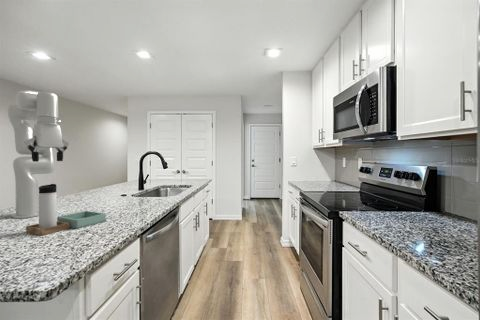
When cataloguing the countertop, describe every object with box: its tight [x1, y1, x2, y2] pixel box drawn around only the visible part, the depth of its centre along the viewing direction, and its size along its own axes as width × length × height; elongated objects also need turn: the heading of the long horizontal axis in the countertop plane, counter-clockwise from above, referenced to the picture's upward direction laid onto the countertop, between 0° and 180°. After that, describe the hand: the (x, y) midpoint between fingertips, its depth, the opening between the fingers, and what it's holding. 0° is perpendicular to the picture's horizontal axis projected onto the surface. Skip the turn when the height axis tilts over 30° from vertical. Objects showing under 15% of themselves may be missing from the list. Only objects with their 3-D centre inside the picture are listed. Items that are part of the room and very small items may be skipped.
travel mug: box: [38, 183, 58, 229], centre depth 114 cm, size 6×7×20 cm
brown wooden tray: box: [25, 221, 70, 236], centre depth 114 cm, size 11×11×2 cm
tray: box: [57, 210, 107, 230], centre depth 126 cm, size 14×14×4 cm
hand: (48, 161), depth 113 cm, fingers open, 9 cm apart
